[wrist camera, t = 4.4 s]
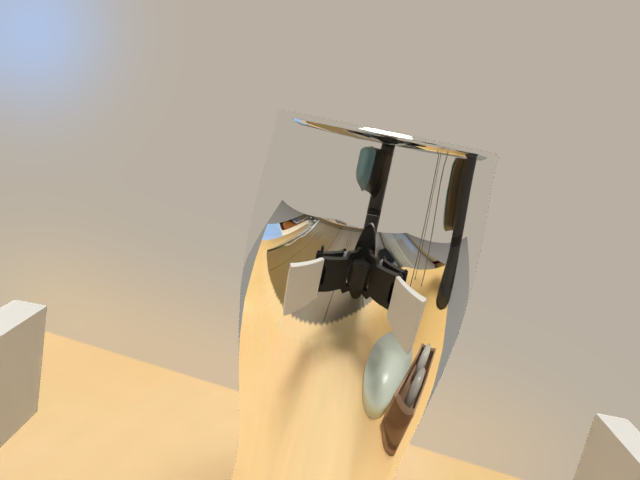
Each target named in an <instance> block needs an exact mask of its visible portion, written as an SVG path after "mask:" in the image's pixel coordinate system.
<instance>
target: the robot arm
mask: <svg viewBox="0 0 640 480" xmlns="http://www.w3.org/2000/svg"><path fill="white" fill-rule="evenodd" d="M46 312H47V306H45V305H40V304H35V303H30V302H24V301H19V300H13V301H11V302H10V303H8V304H6V305H4V306H2V307H1V308H0V447H1V446H2V445H3V444H4V443H5V442H6V441H7V440H9V439H10V438H11V437H12V436H13V435H14V434H15V433H16V432H17V431H18V430H19V429H20V428H21V427H22V426H23V425H24V424H25V423H26V422H27V421H28V420H29V419H30V418H31V417H32V416H33V415H34V414H35V413H36V412H37V409H38V398H39V387H40V377H41V366H42V355H43V344H44V333H45V322H46ZM573 480H640V432H639V431H638V430H637V429H636V428H635V427H634V426H633V425H632V424H631V423H630V421H629V420H628V419H624V418H619V417H614V416H609V415H604V414H598V413H596V414H595V416H594V420H593V422H592V425H591V428H590V431H589V434H588V437H587V440H586V443H585V447H584V449H583V452H582V455H581V458H580V461H579V464H578V467H577V470H576V473H575V476H574V479H573Z"/></svg>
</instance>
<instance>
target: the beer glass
mask: <svg viewBox="0 0 640 480" xmlns="http://www.w3.org/2000/svg"><path fill="white" fill-rule="evenodd" d="M498 159H499V156H498V154H495V153H492V152H488V151H483V150H478V149H474V148H469V147H464V146H460V145H454V144H450V143H445V142H440V141H436V140H430V139H426V138H421V137H416V136H411V135H406V134H401V133H396V132H392V131H387V130H382V129H377V128H372V127H367V126H362V125H357V124H352V123H346V122H342V121H337V120H332V119H327V118H322V117H316V116H311V115H306V114H301V113H295V112H290V111H285V110H279V111H278V112H277V119H276V124H275V129H274V133H273V137H272V141H271V145H270V149H269V152H268V156H267V159H266V163H265V167H264V170H263V174H262V178H261V182H260V186H259V191H258V194H257V198H256V202H255V207H254V211H253V216H252V222H251V226H250V231H249V236H248V241H247V246H246V253H245V261H244V267H243V274H242V282H241V292H240V314H239V439H238V448H237V456H236V460H235V465H234V469H233V474H232V477H231V480H393V478H394V475H395V473H396V471H397V468H398V466H399V464H400V462H401V460H402V457H403V455H404V453H405V451H406V449H407V447H408V445H409V442H410V440H411V438H412V436H413V434H414V432H415V430H416V428H417V426H418V424H419V422H420V420H421V418H422V416H423V414H424V412H425V410H426V408H427V406H428V403H429V401H430V399H431V397H432V395H433V393H434V391H435V389H436V387H437V385H438V382H439V380H440V378H441V376H442V374H443V371H444V368H445V366H446V363H447V361H448V359H449V356H450V354H451V352H452V349H453V347H454V344H455V342H456V339H457V337H458V334H459V330H460V327H461V324H462V320H463V317H464V314H465V311H466V307H467V304H468V301H469V297H470V294H471V290H472V286H473V281H474V277H475V272H476V268H477V264H478V260H479V256H480V251H481V245H482V240H483V235H484V229H485V224H486V219H487V213H488V207H489V201H490V195H491V189H492V183H493V178H494V173H495V168H496V164H497V161H498Z"/></svg>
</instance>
